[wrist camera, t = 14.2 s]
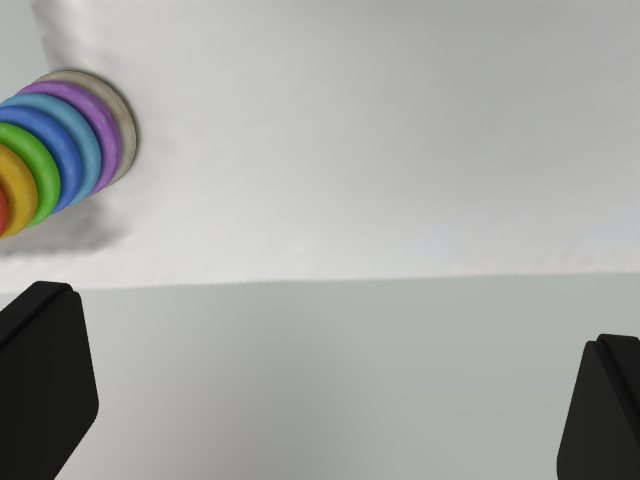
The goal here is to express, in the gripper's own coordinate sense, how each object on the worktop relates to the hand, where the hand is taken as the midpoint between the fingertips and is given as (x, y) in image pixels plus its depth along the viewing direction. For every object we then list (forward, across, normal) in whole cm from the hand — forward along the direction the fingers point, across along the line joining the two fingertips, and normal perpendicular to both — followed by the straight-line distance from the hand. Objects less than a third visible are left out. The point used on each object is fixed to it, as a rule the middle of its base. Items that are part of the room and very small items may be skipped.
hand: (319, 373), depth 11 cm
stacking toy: (+28, +20, +4) cm, 35 cm away
